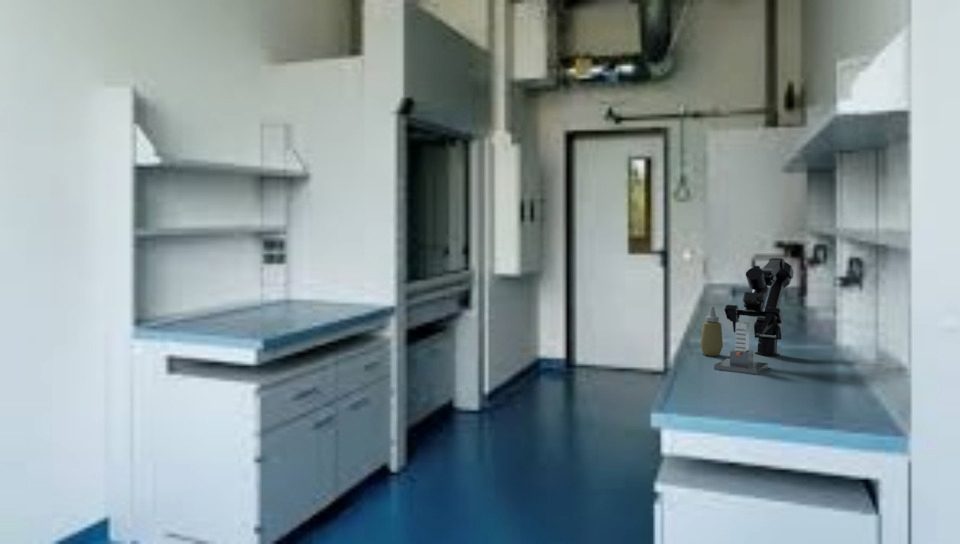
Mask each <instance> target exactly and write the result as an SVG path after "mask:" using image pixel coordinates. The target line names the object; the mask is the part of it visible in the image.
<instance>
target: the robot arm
mask: <svg viewBox="0 0 960 544" xmlns="http://www.w3.org/2000/svg"><path fill="white" fill-rule="evenodd" d="M793 269H794V268H793V267H792V265H791V264H790V263H788V262H786V261H785V259H784V258H781V257H779V258H778V257H772V258H769V260H768V262H767V263H766V264H765V265H764V266H763V267H762V268H761V266H760V265H753V267H752V268H750V269H747V271H746V272H745V276H746V280H747V284H748V288H749V289H750V291H744V292H743V296H742V297H743V298H742V302H744V303H743V307H744V308H745V309H743V308H739V307H738V305H737V304H726V305H725V306H724V310H723V311H724V313H725V316H726V319H727V320H729V321H730V322H732V328H733V332H734V333H736V322H740V320H739V319H740V316H745V317H747V316H748V317H752V318H756V320H755V322H754V325H753V330H754V338H755V339H757V338H758V342H757V351H754V354H756V355H760V356H765V357H772V356H773V357H774V356H780V355H781V353H780V352H779V353H778V352H777V350H778V348H777V347H778V341H779V340H783V339H782V338H783V336H782V329H781V325H780V324H782V322H783V313H782V309H781V308H780V304H781V301H782V297H783V293H784V290H785V288H786V287H788V286H789V285H790V284H791V281H792V279H794V270H793ZM769 287H770V290H769Z"/></svg>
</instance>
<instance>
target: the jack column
mask: <svg viewBox="0 0 960 544" xmlns="http://www.w3.org/2000/svg"><path fill="white" fill-rule="evenodd" d="M750 325H751V323H750V322H749V321H739V322H736V332H734V333H735V339H734V341H735V342H734V349H735V351H737V352H746V353H747V352H749V350H750V330H751V329H750V328H751V327H750Z"/></svg>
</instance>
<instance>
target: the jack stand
mask: <svg viewBox="0 0 960 544" xmlns="http://www.w3.org/2000/svg"><path fill="white" fill-rule="evenodd" d="M729 352H730V353H729V358H726V359H724V360H721V361H719V362H717V363H715V364H714V365H713V369H714V370H716V369H717V370H718V371H725V372H726V371H727V372H734V373H741V374H743V373H744V374H750V375H758V374H760V373H762V372H763V371H765V370H767V369H768V368H769V363H768V362H767V363H766V362H759V361H754V350H751V349H749V352H747V353H746V352H737V351H735V348H734V349H732V350H730V351H729Z"/></svg>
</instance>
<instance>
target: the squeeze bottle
mask: <svg viewBox="0 0 960 544" xmlns="http://www.w3.org/2000/svg"><path fill="white" fill-rule="evenodd" d="M719 321H720V317H719V316H717V315H716V309H715V306H711V307H710V310H709V313H708V315H707V316H705V321H704V322H702V329H701V330H702V331H701V336H700V344H699V345H700V348H701V351H702V354H703V355H704V356H709V357H717V356H720V354H721V351H722V349H723V347H724V345H723V344H724V343H723V332H722V331H723V329H722V323H721V322H719Z"/></svg>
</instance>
